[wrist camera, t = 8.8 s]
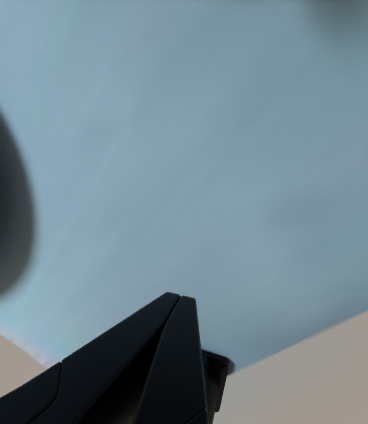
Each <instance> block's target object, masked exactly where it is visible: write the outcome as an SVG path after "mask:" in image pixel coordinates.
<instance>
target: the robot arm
mask: <svg viewBox="0 0 368 424" xmlns="http://www.w3.org/2000/svg"><path fill="white" fill-rule="evenodd" d="M223 363H224V364H223ZM228 368H229V360H228V359H227V358H225V357H222V356H219V355H215V354H212V353H209V352H205V351H202V350H201V344H200V334H199V325H198V316H197V306H196V300H195V298H191V297H187V296H180V295H179V294H175V293H171V292H166V293H164V294H163V295H161V296H160V297H158V298H157V299H155V300H154V301H152V302H151V303H149V304H147V305H146V306H144V307H143V308H141V309H140V310H138V311H137V312H135V313H134V314H132V315H131V316H129V317H127V318H126V319H124V320H123V321H121V322H120V323H118V324H117V325H115V326H114V327H112V328H111V329H109V330H107V331H106V332H104V333H103V334H101V335H100V336H98V337H97V338H95V339H94V340H92V341H91V342H89V343H88V344H86V345H84V346H83V347H81V348H80V349H78V350H77V351H75V352H74V353H72V354H71V355H69V356H68V357H66V358H64V359H63V360H62V363H61V362H58V363H57V364H55V365H54V366H52V367H50V368H49V369H47V370H46V371H45V372H43V373H41V374H40V375H38V376H36V377H35V378H33V379H31V380H30V381H28V382H27V383H25V384H23V385H22V386H20V387H18V388H17V389H15V390H13V391H11V392H10V393H8V394H6V395H4V396H3V397H1V398H0V424H212V423H213V418H214V413H215V412H218V411H219V409H220V405H221V400H222V395H223V391H224V386H225V382H226V377H227V372H228Z"/></svg>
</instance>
